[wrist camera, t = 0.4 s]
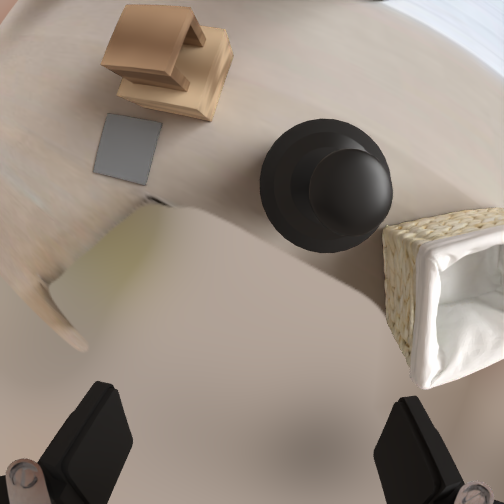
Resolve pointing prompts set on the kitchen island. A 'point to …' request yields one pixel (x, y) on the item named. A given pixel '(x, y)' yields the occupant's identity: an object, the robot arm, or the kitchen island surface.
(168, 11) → the u-shaped wooden block
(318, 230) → the french press
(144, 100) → the plinth
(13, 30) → the kitchen island surface
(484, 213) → the storage basket
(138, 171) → the coaster
